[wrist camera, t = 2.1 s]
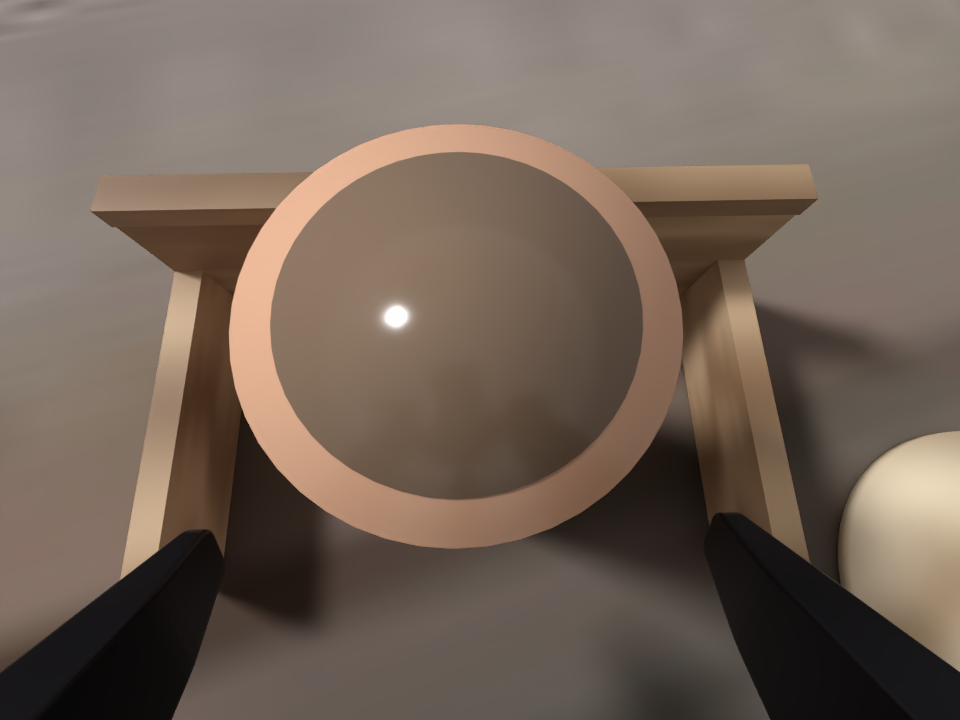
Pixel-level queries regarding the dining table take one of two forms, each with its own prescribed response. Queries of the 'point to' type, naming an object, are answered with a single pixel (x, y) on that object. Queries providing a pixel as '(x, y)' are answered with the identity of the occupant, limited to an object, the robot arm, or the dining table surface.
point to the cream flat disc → (908, 540)
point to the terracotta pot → (456, 336)
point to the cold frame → (654, 190)
